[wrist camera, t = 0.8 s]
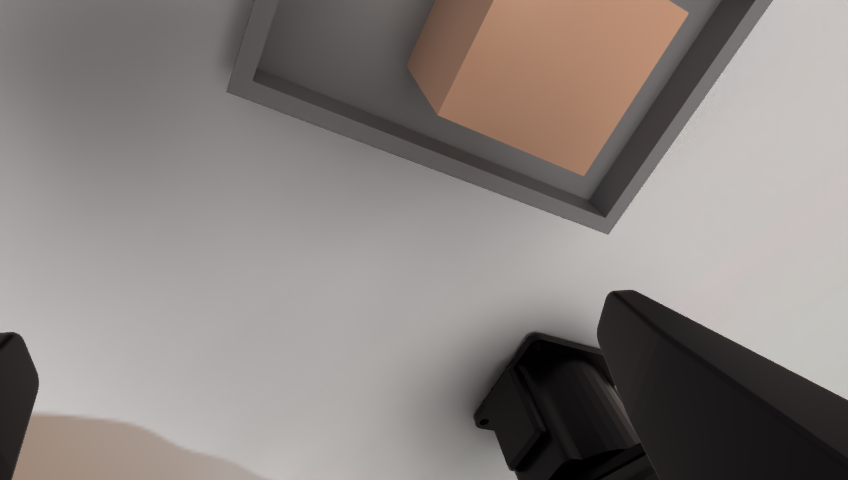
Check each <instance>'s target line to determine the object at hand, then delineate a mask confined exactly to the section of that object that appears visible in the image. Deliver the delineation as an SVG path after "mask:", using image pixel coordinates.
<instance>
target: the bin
mask: <svg viewBox="0 0 848 480" xmlns="http://www.w3.org/2000/svg"><path fill="white" fill-rule="evenodd" d="M669 1H671V2H672V3H674V4H676V5H677V6H679V7H680V8H682V9H684V10H685V11H687V12H688V13H689V14H688V16H687V17H686V19H685V20H684V22H683V23H682V25H681V26H680V28H679V30H678V31H677V33H676V34H675V36H674V37H673V39H672V40H671V42H670V44H669V45H668V47H667V48H666V50H665V51H664V53H663V54H662V56H661V57H660V59H659V61H658V62H657V64H656V65H655V67H654V68H653V70H652V71H651V73H650V75H649V76H648V78H647V79H646V81H645V82H644V84H643V85H642V87H641V88H640V90H639V92H638V93H637V95H636V96H635V98H634V99H633V101H632V102H631V104H630V106H629V107H628V109H627V110H626V112H625V113H624V115H623V116H622V118H621V120H620V121H619V123H618V124H617V126H616V127H615V129H614V130H613V132H612V133H611V135H610V137H609V138H608V140H607V141H606V143H605V144H604V146H603V147H602V149H601V151H600V152H599V154H598V155H597V157H596V158H595V160H594V161H593V163H592V164H591V166H590V168H589V169H588V171H587V172H586V174H585V175H584V176H582V175H579V174H577V173H575V172H572V171H570V170H567V169H565V168H563V167H560V166H558V165H555V164H553V163H551V162H548V161H546V160H543V159H541V158H539V157H536V156H534V155H531V154H529V153H527V152H524V151H522V150H519V149H517V148H515V147H512V146H510V145H508V144H505V143H503V142H500V141H498V140H496V139H493V138H491V137H488V136H486V135H484V134H481V133H479V132H476V131H474V130H472V129H469V128H467V127H464V126H462V125H460V124H457V123H455V122H452V121H450V120H448V119H445V118H443V117H441V116H438V115H437V114H436V112H435V111H434V109H433V108H432V106H431V104H430V103H429V101H428V100H427V98H426V96H425V95H424V93H423V92H422V90H421V88H420V87H419V85H418V84H417V82H416V81H415V79H414V77H413V76H412V74H411V73H410V71H409V69H408V68H407V66H406V65H407V62H408V60H409V58H410V56H411V54H412V51H413V49H414V47H415V45H416V42H417V40H418V38H419V36H420V33H421V31H422V29H423V27H424V24H425V22H426V20H427V18H428V15H429V13H430V11H431V9H432V6H433V4H434V2H435V0H255V1H254V4H253V7H252V10H251V14H250V17H249V20H248V23H247V27H246V30H245V33H244V36H243V39H242V43H241V46H240V49H239V52H238V56H237V59H236V62H235V65H234V69H233V72H232V75H231V78H230V82H229V85H228V88H227V91H226V92H228V93H231V94H234V95H236V96H239V97H242V98H244V99H247V100H250V101H252V102H255V103H258V104H260V105H263V106H266V107H268V108H271V109H274V110H276V111H279V112H282V113H284V114H287V115H290V116H292V117H295V118H298V119H300V120H303V121H306V122H308V123H311V124H314V125H317V126H319V127H322V128H325V129H327V130H330V131H333V132H335V133H338V134H341V135H343V136H346V137H349V138H351V139H354V140H357V141H359V142H362V143H365V144H367V145H370V146H373V147H375V148H378V149H381V150H383V151H386V152H389V153H391V154H394V155H397V156H399V157H402V158H405V159H407V160H410V161H413V162H415V163H418V164H421V165H423V166H426V167H429V168H431V169H434V170H437V171H440V172H442V173H445V174H448V175H450V176H453V177H456V178H458V179H461V180H464V181H466V182H469V183H472V184H474V185H477V186H480V187H482V188H485V189H488V190H490V191H493V192H496V193H498V194H501V195H504V196H506V197H509V198H512V199H514V200H517V201H520V202H522V203H525V204H528V205H530V206H533V207H536V208H538V209H541V210H544V211H546V212H549V213H552V214H554V215H557V216H560V217H563V218H565V219H568V220H571V221H573V222H576V223H579V224H581V225H584V226H587V227H589V228H592V229H595V230H597V231H600V232H603V233H605V234H609V233H610V231H611V230H612V229H613V227H614V226H615V224H616V223H617V221H618V220H619V219H620V217H621V216H622V214H623V213H624V212H625V210H626V209H627V207H628V206H629V204H630V203H631V202H632V200H633V199H634V197H635V196H636V194H637V193H638V192H639V190H640V189H641V187H642V186H643V184H644V183H645V182H646V180H647V179H648V177H649V176H650V174H651V173H652V172H653V170H654V169H655V167H656V166H657V165H658V163H659V162H660V160H661V159H662V157H663V156H664V155H665V153H666V152H667V150H668V149H669V147H670V146H671V145H672V143H673V142H674V140H675V139H676V137H677V136H678V135H679V133H680V132H681V130H682V129H683V127H684V126H685V125H686V123H687V122H688V120H689V119H690V117H691V116H692V115H693V113H694V112H695V110H696V109H697V108H698V106H699V105H700V103H701V102H702V100H703V99H704V98H705V96H706V95H707V93H708V92H709V90H710V89H711V88H712V86H713V85H714V83H715V82H716V80H717V79H718V78H719V76H720V75H721V73H722V72H723V70H724V69H725V68H726V66H727V65H728V63H729V62H730V61H731V59H732V58H733V56H734V55H735V53H736V52H737V51H738V49H739V48H740V46H741V45H742V43H743V42H744V41H745V39H746V38H747V36H748V35H749V33H750V32H751V31H752V29H753V28H754V26H755V25H756V23H757V22H758V21H759V19H760V18H761V16H762V15H763V14H764V12H765V11H766V9H767V8H768V6H769V5H770V4H771V2H772V1H773V0H669Z"/></svg>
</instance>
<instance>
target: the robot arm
mask: <svg viewBox="0 0 848 480" xmlns="http://www.w3.org/2000/svg"><path fill="white" fill-rule="evenodd" d="M597 338H598V342H599V345H600V348H601V350H602V351H601V350H598V349H594V348H590V347H586V346H583V345H579V344H575V343H571V342H568V341H564V340H560V339H556V338H553V337H549V336H545V335H541V334H534V335H531V336H530V337H528V338H527V340H526V341H525V342H524V344H523V345H522V347H521V348H520V350H519V351H518V352H517V354H516V355H515V357H514V358H513V360H512V361H511V363H510V364H509V365H508V367H507V368H506V370H505V371H504V373H503V374H502V376H501V377H500V378H499V380H498V381H497V383H496V384H495V386H494V387H493V389H492V390H491V391H490V393H489V394H488V396H487V397H486V399H485V400H484V401H483V403H482V404H481V406H480V407H479V409H478V410H477V412H476V413H475V414H474V417H473V418H474V422H475V425H476V426H477V427H478V428H482V429H488V430H493V431H495V433H496V436H497V439H498V441H499V444H500V447H501V450H502V452H503V455H504V458H505V461H506V463H507V466H508V468H509V470H511V471H515V473H516V476H517V479H518V480H848V400H846V399H844V398H843V397H841V396H839V395H837V394H835V393H833V392H831V391H829V390H827V389H825V388H823V387H821V386H819V385H817V384H815V383H813V382H811V381H809V380H808V379H806V378H804V377H802V376H800V375H798V374H796V373H794V372H792V371H790V370H788V369H786V368H784V367H782V366H780V365H778V364H776V363H774V362H773V361H771V360H769V359H767V358H765V357H763V356H761V355H759V354H757V353H755V352H753V351H751V350H749V349H747V348H745V347H743V346H741V345H740V344H738V343H736V342H734V341H732V340H730V339H728V338H726V337H724V336H722V335H720V334H718V333H716V332H714V331H712V330H710V329H708V328H707V327H705V326H703V325H701V324H699V323H697V322H695V321H693V320H691V319H689V318H687V317H685V316H683V315H681V314H679V313H677V312H675V311H673V310H672V309H670V308H668V307H666V306H664V305H662V304H660V303H658V302H656V301H654V300H652V299H650V298H648V297H646V296H644V295H642V294H640V293H639V292H637V291H634V290H620V291H612V292H610V293H609V294H608V295H607V297H606V299H605V303H604V306H603V310H602V313H601V317H600V320H599V324H598V328H597ZM537 343H538V344H537ZM535 344H537V345H535ZM615 386H616V388H615ZM38 387H39V378H38V374H37V371H36V368H35V366H34V363H33V361H32V359H31V356H30V354H29V351H28V349H27V347H26V344H25V342H24V340H23V338H22V337H21V336H20V335H19V334H18V333H15V332H5V333H0V480H12V477H13V474H14V471H15V467H16V464H17V461H18V457H19V454H20V450H21V447H22V444H23V440H24V437H25V433H26V430H27V426H28V423H29V420H30V416H31V413H32V410H33V406H34V403H35V399H36V396H37V393H38ZM616 389H617V390H616Z"/></svg>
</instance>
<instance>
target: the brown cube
mask: <svg viewBox="0 0 848 480" xmlns="http://www.w3.org/2000/svg"><path fill="white" fill-rule="evenodd" d="M688 14H689V13H688V12H687V11H685V10H684V9H682V8H680V7H679V6H677V5H676V4H674V3H672V2H671V1H669V0H435V2H434V4H433V6H432V9H431V11H430V13H429V15H428V18H427V20H426V22H425V24H424V27H423V29H422V31H421V33H420V36H419V38H418V40H417V42H416V45H415V47H414V49H413V51H412V54H411V56H410V58H409V60H408V62H407V65H406V66H407V68H408V69H409V71H410V73H411V74H412V76H413V77H414V79H415V81H416V82H417V84H418V85H419V87H420V88H421V90H422V92H423V93H424V95H425V96H426V98H427V100H428V101H429V103H430V104H431V106H432V108H433V109H434V111H435V112H436V114H437V115H438V116H441V117H443V118H445V119H448V120H450V121H452V122H455V123H457V124H460V125H462V126H464V127H467V128H469V129H472V130H474V131H476V132H479V133H481V134H484V135H486V136H488V137H491V138H493V139H496V140H498V141H500V142H503V143H505V144H508V145H510V146H512V147H515V148H517V149H519V150H522V151H524V152H527V153H529V154H531V155H534V156H536V157H539V158H541V159H543V160H546V161H548V162H551V163H553V164H555V165H558V166H560V167H563V168H565V169H567V170H570V171H572V172H575V173H577V174H579V175H582V176H584V175H585V174H586V172H587V171H588V169H589V168H590V166H591V164H592V163H593V161H594V160H595V158H596V157H597V155H598V154H599V152H600V151H601V149H602V147H603V146H604V144H605V143H606V141H607V140H608V138H609V137H610V135H611V133H612V132H613V130H614V129H615V127H616V126H617V124H618V123H619V121H620V120H621V118H622V116H623V115H624V113H625V112H626V110H627V109H628V107H629V106H630V104H631V102H632V101H633V99H634V98H635V96H636V95H637V93H638V92H639V90H640V88H641V87H642V85H643V84H644V82H645V81H646V79H647V78H648V76H649V75H650V73H651V71H652V70H653V68H654V67H655V65H656V64H657V62H658V61H659V59H660V57H661V56H662V54H663V53H664V51H665V50H666V48H667V47H668V45H669V44H670V42H671V40H672V39H673V37H674V36H675V34H676V33H677V31H678V30H679V28H680V26H681V25H682V23H683V22H684V20H685V19H686V17H687V16H688Z"/></svg>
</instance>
